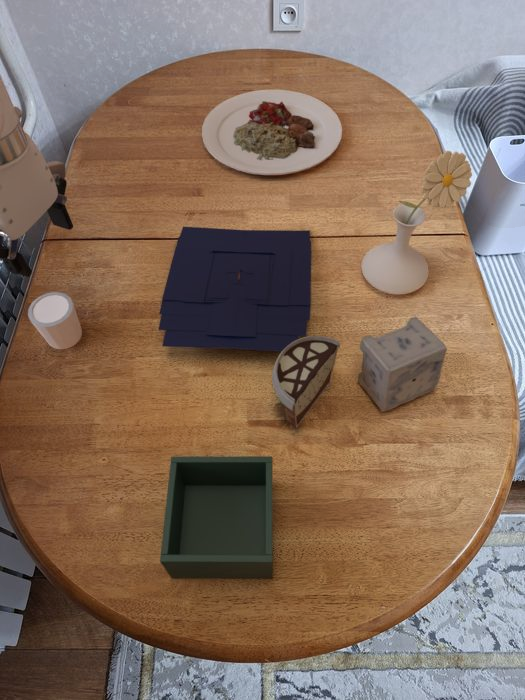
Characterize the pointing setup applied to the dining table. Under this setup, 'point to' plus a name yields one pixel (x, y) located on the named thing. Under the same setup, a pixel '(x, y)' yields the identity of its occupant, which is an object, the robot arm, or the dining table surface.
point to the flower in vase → (398, 257)
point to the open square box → (219, 518)
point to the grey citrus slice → (303, 375)
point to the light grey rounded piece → (56, 319)
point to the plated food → (271, 132)
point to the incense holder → (401, 364)
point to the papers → (237, 289)
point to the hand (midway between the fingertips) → (43, 248)
